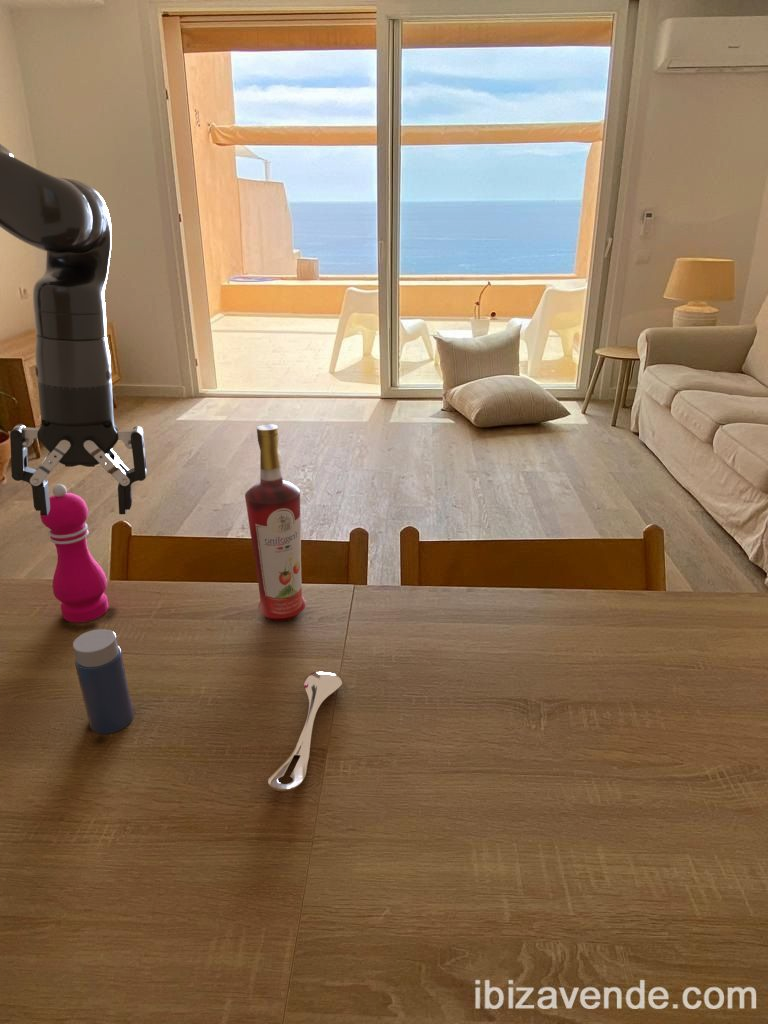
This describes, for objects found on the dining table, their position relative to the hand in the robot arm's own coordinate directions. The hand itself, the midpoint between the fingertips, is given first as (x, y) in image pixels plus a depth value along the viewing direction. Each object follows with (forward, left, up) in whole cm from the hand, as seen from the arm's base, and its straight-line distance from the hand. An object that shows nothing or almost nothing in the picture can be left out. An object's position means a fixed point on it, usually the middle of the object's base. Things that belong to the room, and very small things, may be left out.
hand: (84, 512), depth 83 cm
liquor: (+20, +11, -21) cm, 31 cm away
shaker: (+4, -12, -21) cm, 24 cm away
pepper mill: (-9, +11, -21) cm, 26 cm away
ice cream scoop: (+27, -14, -21) cm, 37 cm away
